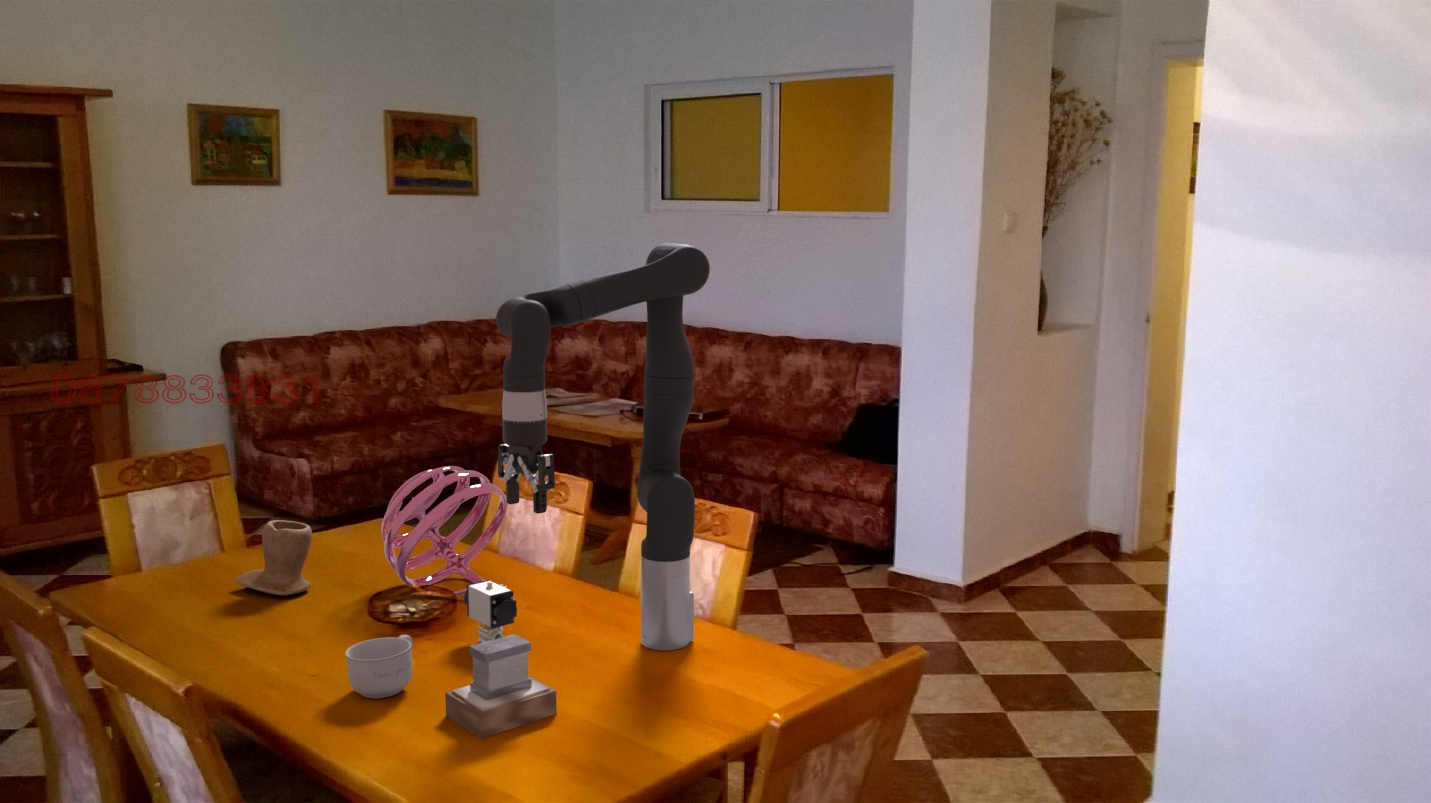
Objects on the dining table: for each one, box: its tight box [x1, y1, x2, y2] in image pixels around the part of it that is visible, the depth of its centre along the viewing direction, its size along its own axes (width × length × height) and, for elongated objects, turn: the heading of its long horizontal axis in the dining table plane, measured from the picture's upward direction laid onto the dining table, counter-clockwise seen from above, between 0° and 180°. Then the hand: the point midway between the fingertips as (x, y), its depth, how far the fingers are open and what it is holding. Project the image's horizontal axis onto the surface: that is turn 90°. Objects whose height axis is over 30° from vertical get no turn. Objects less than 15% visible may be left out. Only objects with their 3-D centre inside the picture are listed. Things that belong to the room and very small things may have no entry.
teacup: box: [344, 634, 414, 699], centre depth 200 cm, size 14×11×8 cm
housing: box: [468, 633, 532, 701], centre depth 189 cm, size 8×5×8 cm, turn 132°
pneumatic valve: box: [463, 579, 518, 643], centre depth 222 cm, size 6×12×12 cm, turn 42°
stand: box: [444, 675, 558, 739], centre depth 190 cm, size 14×11×4 cm
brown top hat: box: [235, 519, 313, 596], centre depth 251 cm, size 15×12×15 cm
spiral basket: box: [381, 465, 508, 597], centre depth 252 cm, size 28×28×27 cm
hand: (526, 508), depth 203 cm, fingers open, 8 cm apart
